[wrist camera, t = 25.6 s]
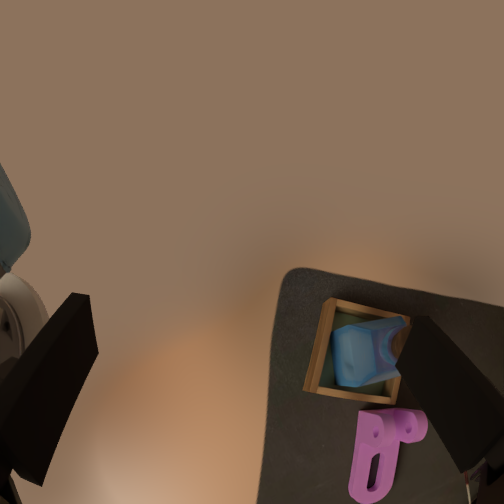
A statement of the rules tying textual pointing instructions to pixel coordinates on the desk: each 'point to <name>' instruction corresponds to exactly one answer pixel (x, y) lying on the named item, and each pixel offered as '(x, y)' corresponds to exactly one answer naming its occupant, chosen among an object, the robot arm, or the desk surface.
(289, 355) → the desk surface
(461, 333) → the desk surface
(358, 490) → the bracket
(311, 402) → the desk surface
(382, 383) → the holder
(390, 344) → the blue bottle with cork
